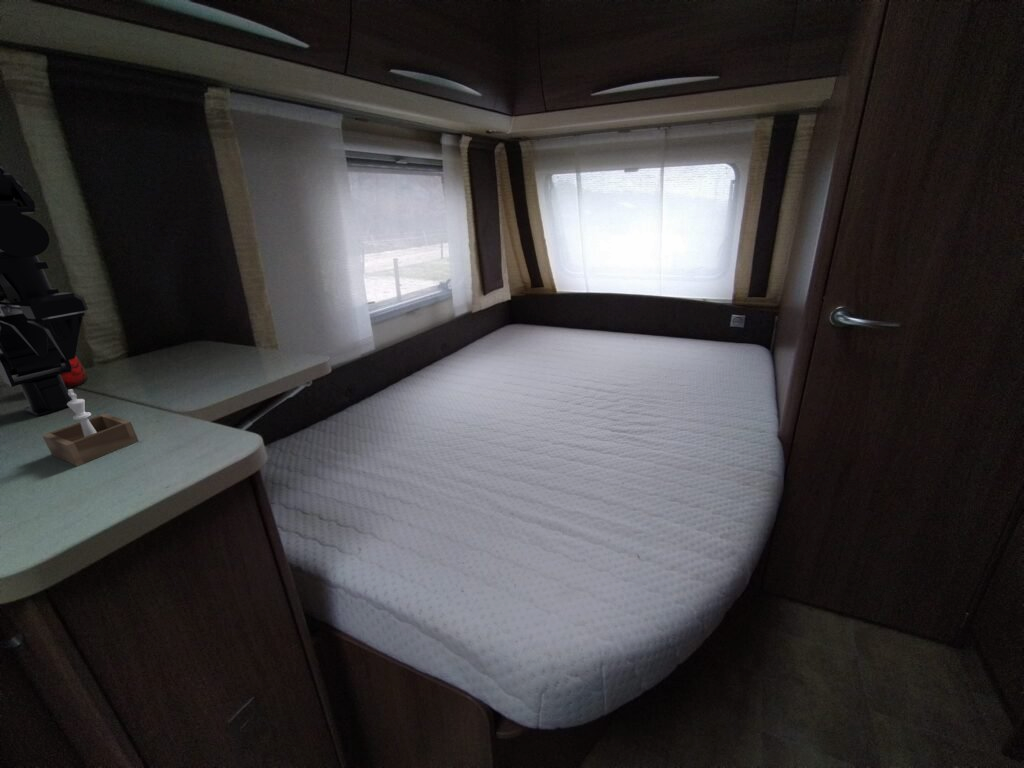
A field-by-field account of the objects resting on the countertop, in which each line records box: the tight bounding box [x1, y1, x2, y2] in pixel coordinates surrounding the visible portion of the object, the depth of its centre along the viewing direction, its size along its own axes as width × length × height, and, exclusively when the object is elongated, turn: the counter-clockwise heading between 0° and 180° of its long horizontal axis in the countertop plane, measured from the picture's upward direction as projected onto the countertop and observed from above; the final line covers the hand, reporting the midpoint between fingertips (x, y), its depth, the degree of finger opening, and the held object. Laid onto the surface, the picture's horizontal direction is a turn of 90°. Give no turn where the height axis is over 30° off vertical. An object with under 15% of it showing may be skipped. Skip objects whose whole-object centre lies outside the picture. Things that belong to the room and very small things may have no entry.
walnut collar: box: [42, 413, 139, 467], centre depth 70 cm, size 8×8×4 cm
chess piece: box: [67, 388, 97, 437], centre depth 69 cm, size 5×5×10 cm
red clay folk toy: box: [60, 356, 88, 389], centre depth 95 cm, size 8×7×15 cm
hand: (56, 357), depth 72 cm, fingers open, 9 cm apart
